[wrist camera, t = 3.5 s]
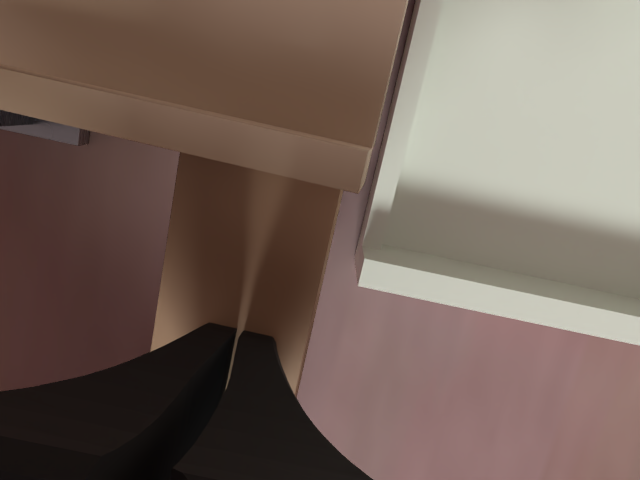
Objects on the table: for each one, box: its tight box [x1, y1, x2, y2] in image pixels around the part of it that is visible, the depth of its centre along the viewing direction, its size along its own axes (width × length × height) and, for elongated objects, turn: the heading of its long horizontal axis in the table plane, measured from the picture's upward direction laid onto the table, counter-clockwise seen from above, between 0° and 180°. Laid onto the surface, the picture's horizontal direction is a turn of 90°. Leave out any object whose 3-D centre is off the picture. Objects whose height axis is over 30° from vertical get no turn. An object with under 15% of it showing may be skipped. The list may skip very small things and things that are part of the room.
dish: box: [354, 0, 640, 345], centre depth 13 cm, size 10×11×4 cm
